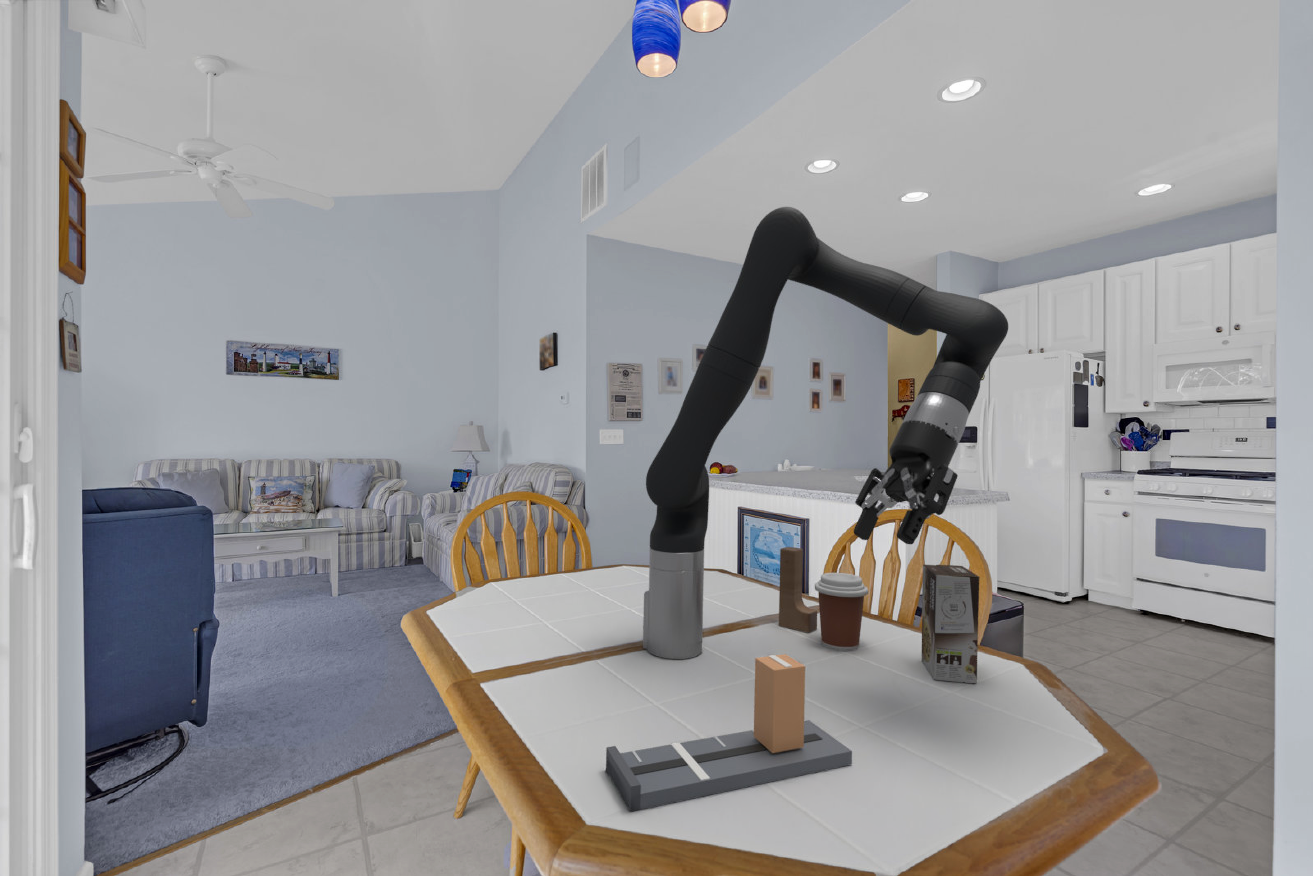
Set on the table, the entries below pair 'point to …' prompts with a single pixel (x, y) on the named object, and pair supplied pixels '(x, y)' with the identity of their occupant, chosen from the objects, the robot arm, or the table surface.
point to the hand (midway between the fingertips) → (880, 539)
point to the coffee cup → (840, 610)
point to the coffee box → (950, 622)
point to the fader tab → (779, 703)
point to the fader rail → (716, 766)
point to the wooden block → (794, 593)
